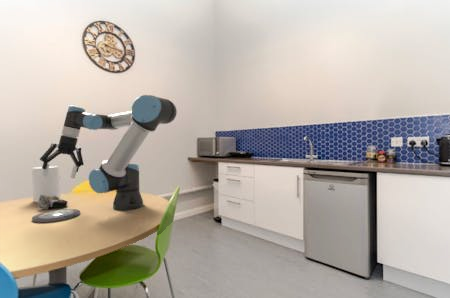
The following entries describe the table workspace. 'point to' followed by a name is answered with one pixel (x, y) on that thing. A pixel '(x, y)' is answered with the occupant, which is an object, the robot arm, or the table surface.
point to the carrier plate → (55, 215)
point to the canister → (45, 182)
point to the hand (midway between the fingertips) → (58, 177)
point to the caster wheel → (50, 202)
